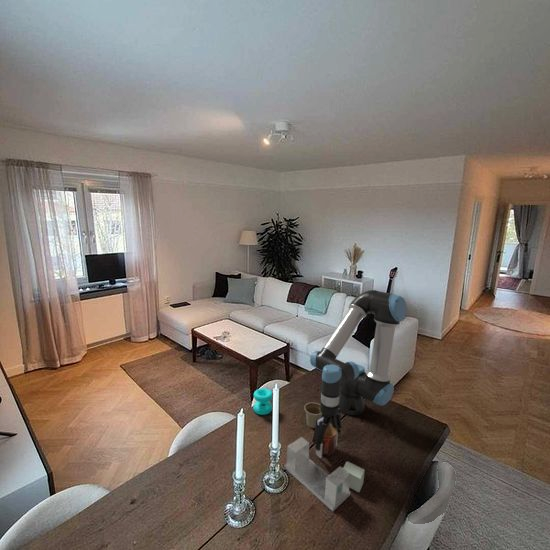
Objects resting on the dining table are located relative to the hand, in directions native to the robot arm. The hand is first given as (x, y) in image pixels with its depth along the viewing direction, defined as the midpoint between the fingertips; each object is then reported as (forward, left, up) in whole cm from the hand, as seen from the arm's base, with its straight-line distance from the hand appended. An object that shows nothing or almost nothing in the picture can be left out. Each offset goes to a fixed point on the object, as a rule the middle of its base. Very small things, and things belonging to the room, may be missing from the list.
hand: (326, 449), depth 130 cm
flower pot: (-10, -16, -2) cm, 19 cm away
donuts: (+2, -40, -2) cm, 40 cm away
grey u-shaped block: (+14, +7, -1) cm, 16 cm away
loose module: (+4, +16, -2) cm, 17 cm away
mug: (0, 0, -2) cm, 2 cm away
